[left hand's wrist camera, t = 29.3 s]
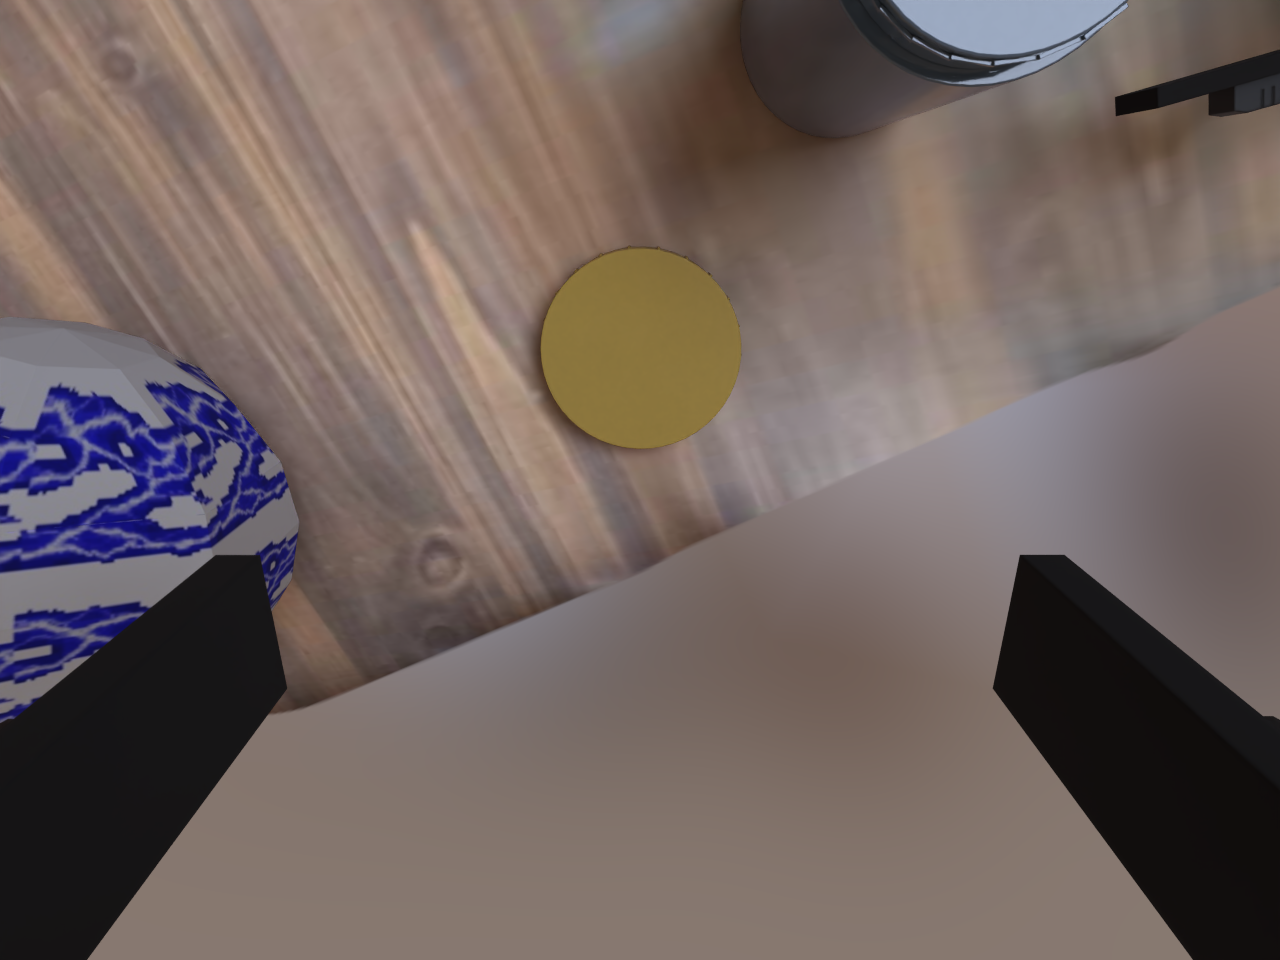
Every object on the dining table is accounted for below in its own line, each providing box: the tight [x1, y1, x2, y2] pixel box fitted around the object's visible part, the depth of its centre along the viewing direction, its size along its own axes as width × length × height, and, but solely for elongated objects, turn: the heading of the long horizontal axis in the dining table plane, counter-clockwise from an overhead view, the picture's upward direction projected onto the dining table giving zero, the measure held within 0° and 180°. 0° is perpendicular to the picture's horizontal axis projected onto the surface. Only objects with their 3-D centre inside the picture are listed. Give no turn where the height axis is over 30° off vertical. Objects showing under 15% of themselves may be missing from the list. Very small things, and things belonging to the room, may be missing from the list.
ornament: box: [0, 317, 299, 723], centre depth 34 cm, size 20×20×20 cm
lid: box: [540, 246, 741, 449], centre depth 39 cm, size 11×11×2 cm
